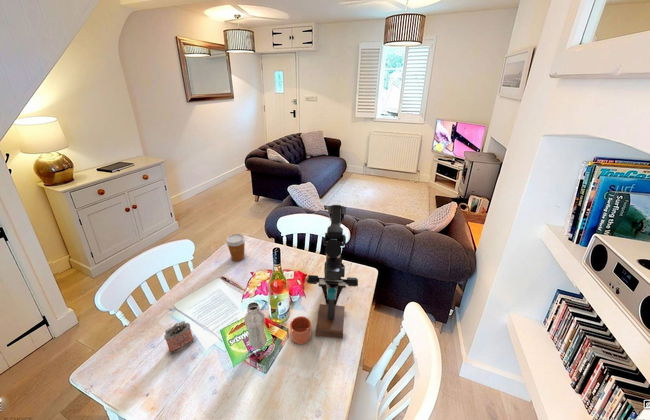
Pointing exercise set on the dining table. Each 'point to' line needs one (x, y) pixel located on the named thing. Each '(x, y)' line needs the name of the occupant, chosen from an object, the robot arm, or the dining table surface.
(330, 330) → the shelf
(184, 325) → the broken red brick
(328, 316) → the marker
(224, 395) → the dining table surface
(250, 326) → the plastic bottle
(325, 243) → the robot arm
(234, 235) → the disposable coffee cup
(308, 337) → the pen cup
